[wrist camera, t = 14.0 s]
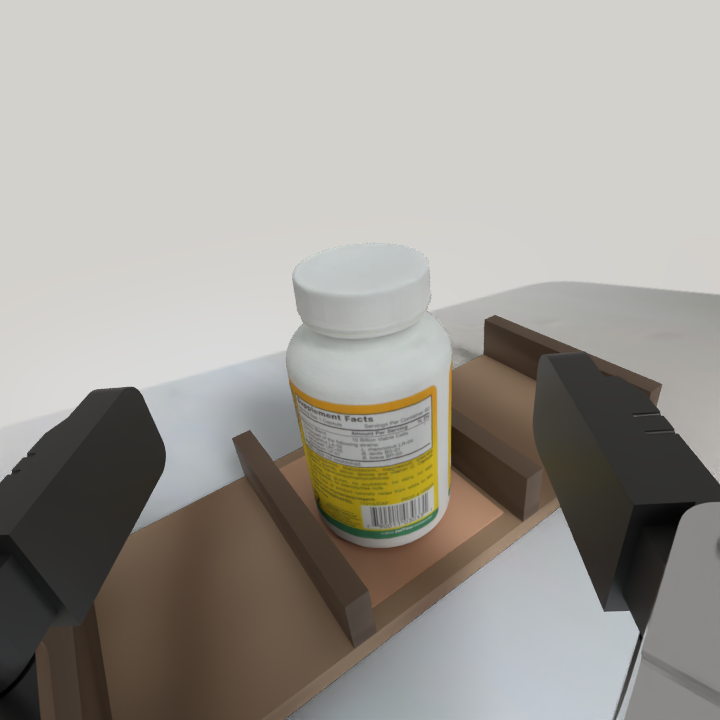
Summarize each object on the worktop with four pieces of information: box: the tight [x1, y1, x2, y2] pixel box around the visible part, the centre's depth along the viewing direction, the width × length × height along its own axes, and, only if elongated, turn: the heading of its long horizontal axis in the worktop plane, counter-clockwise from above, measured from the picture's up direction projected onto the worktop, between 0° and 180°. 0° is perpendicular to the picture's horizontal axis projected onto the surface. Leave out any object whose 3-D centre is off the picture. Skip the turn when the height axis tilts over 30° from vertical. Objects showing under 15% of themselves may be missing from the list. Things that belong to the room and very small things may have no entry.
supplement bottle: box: [286, 243, 452, 548], centre depth 16 cm, size 5×5×10 cm
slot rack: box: [41, 315, 662, 720], centre depth 19 cm, size 23×9×3 cm, turn 123°
